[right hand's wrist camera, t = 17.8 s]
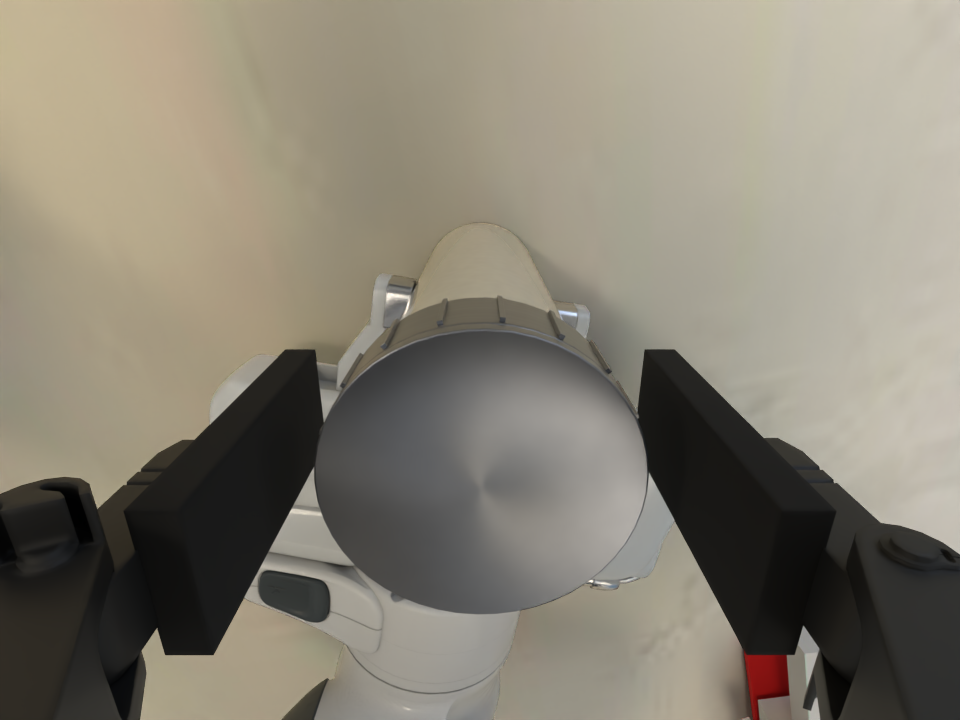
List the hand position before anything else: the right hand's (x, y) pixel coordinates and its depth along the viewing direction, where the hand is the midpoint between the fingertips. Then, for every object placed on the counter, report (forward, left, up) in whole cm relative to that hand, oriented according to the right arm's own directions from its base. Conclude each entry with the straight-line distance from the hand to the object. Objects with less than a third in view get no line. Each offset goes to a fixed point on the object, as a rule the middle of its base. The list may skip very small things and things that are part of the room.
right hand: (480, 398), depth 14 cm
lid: (0, 0, +4) cm, 4 cm away
